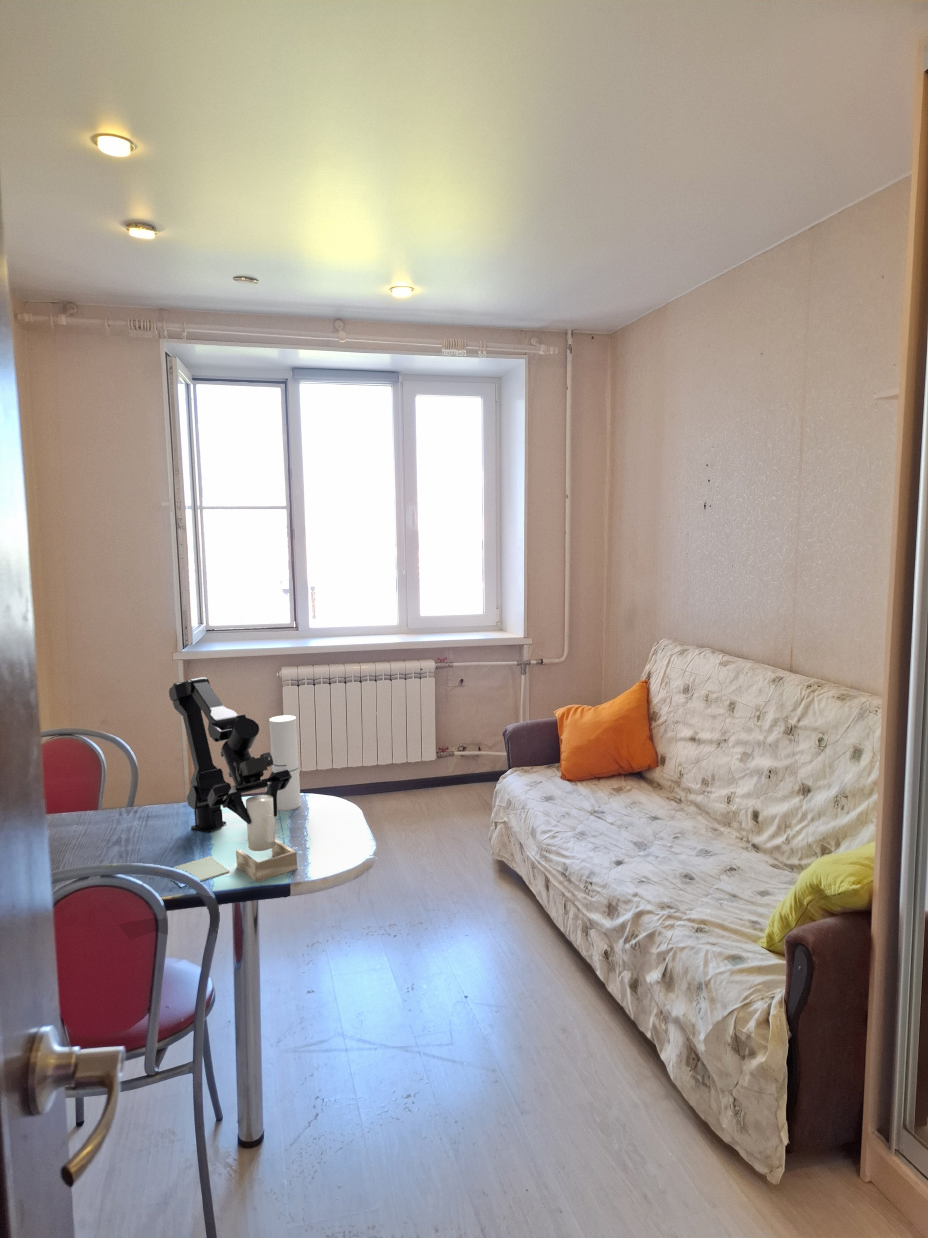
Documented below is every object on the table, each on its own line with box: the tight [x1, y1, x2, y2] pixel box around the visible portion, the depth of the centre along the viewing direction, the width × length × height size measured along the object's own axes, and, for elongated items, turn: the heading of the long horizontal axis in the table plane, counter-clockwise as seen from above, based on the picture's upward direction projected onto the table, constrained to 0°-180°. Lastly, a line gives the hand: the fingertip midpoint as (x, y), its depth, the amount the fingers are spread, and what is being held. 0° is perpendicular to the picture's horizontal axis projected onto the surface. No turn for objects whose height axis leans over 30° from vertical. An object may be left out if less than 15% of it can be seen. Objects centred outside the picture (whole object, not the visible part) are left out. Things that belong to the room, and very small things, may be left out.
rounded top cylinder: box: [245, 794, 276, 852], centre depth 173 cm, size 8×6×11 cm
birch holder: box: [235, 838, 298, 883], centre depth 174 cm, size 11×10×4 cm
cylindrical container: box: [268, 714, 302, 811], centre depth 212 cm, size 7×7×25 cm
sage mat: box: [173, 855, 231, 882], centre depth 173 cm, size 11×11×1 cm
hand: (263, 819), depth 173 cm, fingers closed on rounded top cylinder, 6 cm apart
